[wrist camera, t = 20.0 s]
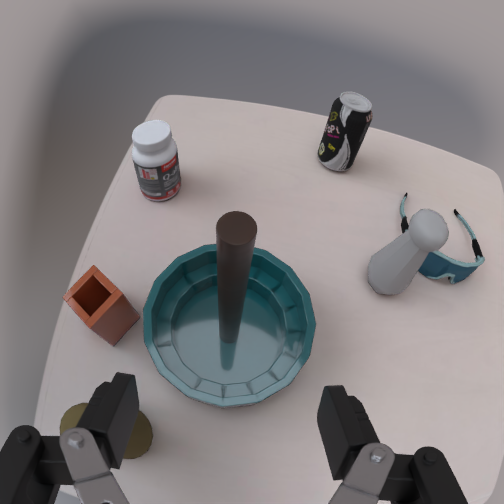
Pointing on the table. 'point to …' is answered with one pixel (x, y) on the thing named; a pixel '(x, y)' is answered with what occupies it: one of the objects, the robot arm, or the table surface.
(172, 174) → the pill bottle
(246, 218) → the stick
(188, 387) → the bowl
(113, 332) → the holder
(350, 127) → the beverage can
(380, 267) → the salt shaker
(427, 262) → the sunglasses
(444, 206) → the table surface
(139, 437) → the cork
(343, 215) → the table surface
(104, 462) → the robot arm
